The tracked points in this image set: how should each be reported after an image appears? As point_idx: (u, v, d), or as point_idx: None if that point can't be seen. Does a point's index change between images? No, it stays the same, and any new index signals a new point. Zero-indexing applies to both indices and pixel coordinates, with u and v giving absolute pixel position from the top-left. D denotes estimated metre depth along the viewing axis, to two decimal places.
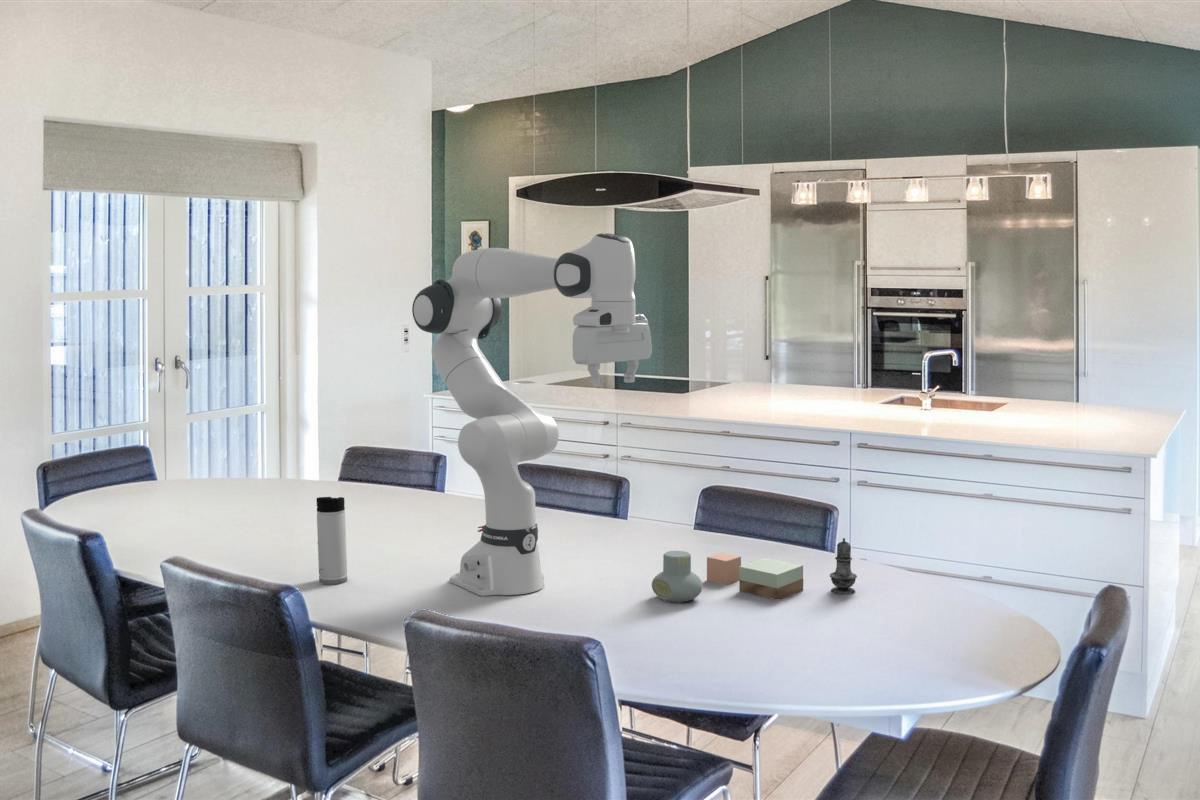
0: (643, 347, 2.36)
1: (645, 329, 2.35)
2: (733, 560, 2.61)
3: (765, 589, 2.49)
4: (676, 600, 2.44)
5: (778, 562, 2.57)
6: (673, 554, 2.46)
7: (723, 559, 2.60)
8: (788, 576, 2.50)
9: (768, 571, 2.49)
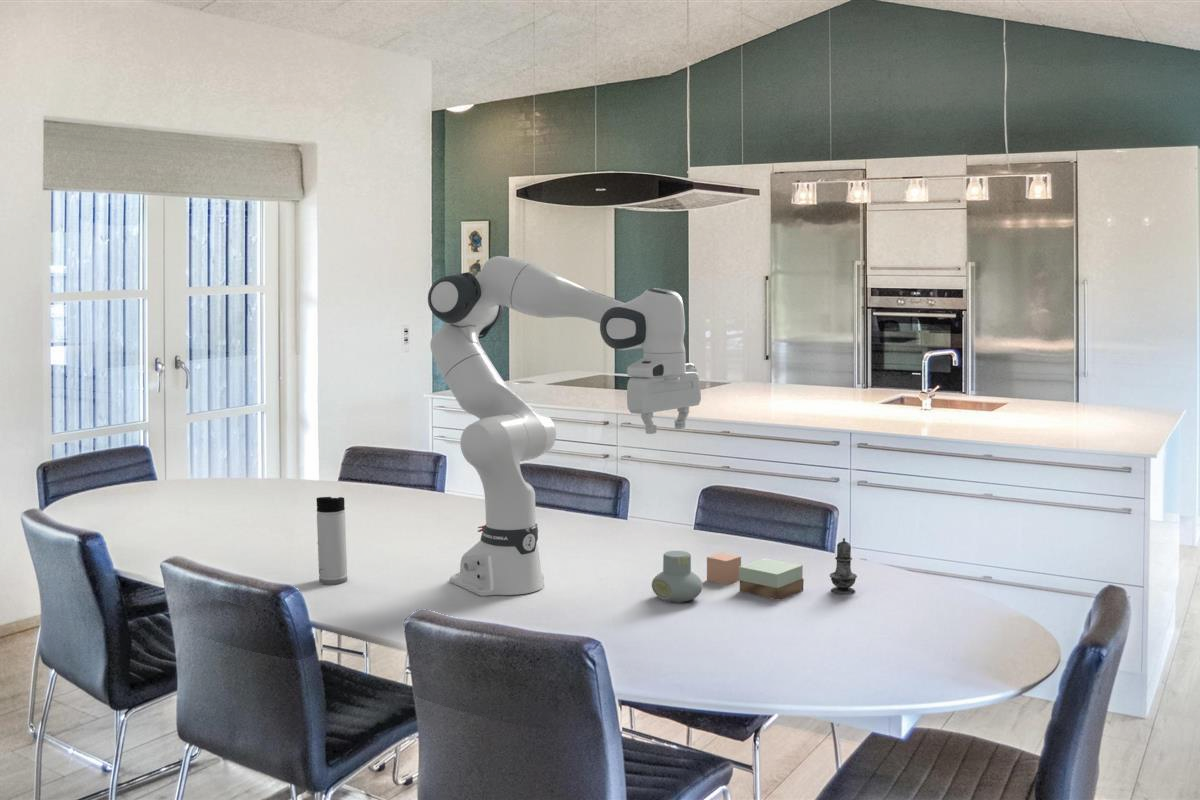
0: (693, 395, 2.48)
1: (694, 377, 2.48)
2: (733, 560, 2.61)
3: (765, 589, 2.49)
4: (676, 600, 2.44)
5: (777, 562, 2.57)
6: (673, 554, 2.46)
7: (723, 559, 2.60)
8: (788, 576, 2.50)
9: (768, 571, 2.49)
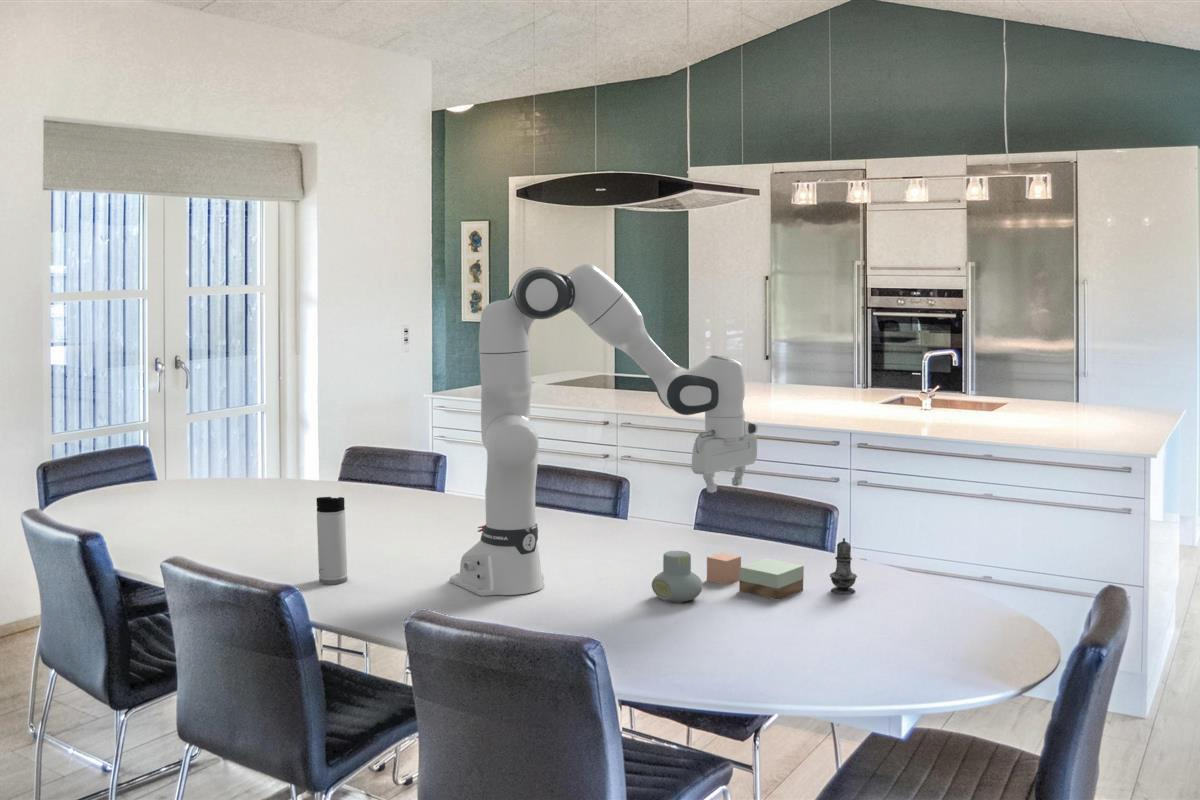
0: None
1: None
2: (733, 560, 2.61)
3: (765, 589, 2.49)
4: (676, 600, 2.44)
5: (778, 562, 2.56)
6: (673, 554, 2.46)
7: (723, 559, 2.60)
8: (788, 576, 2.50)
9: (768, 571, 2.49)
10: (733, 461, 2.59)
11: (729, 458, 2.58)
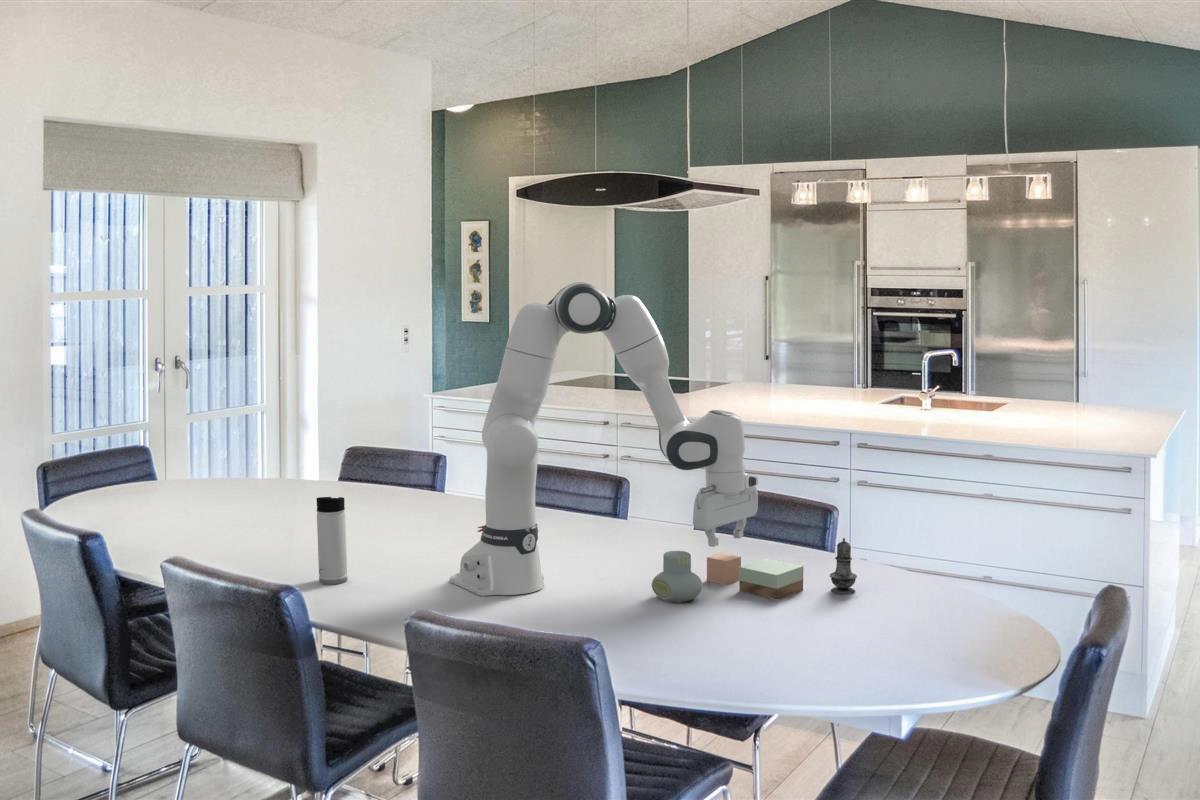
0: None
1: None
2: (733, 560, 2.61)
3: (765, 589, 2.49)
4: (676, 600, 2.44)
5: (778, 563, 2.56)
6: (673, 554, 2.46)
7: (723, 559, 2.60)
8: (788, 577, 2.50)
9: (768, 571, 2.49)
10: (734, 515, 2.61)
11: (730, 512, 2.60)
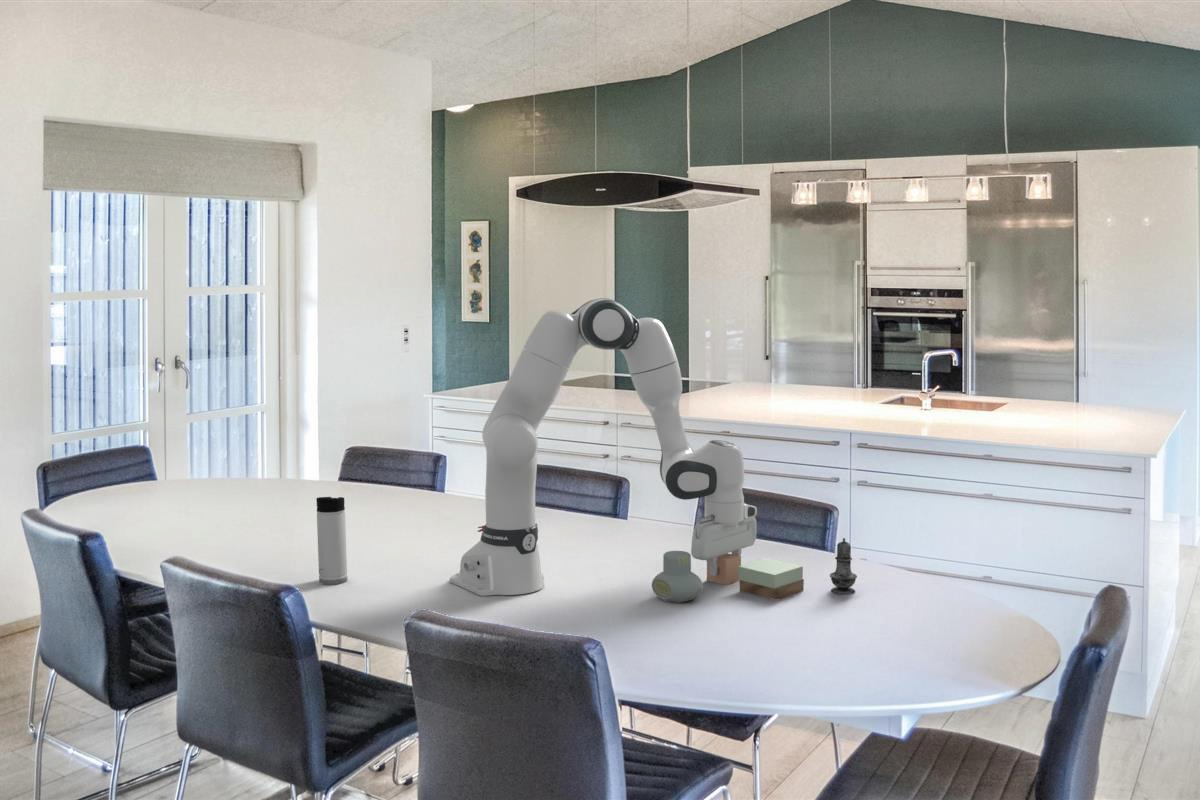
0: None
1: None
2: (733, 560, 2.61)
3: (765, 589, 2.49)
4: (676, 600, 2.44)
5: (778, 563, 2.56)
6: (673, 554, 2.46)
7: (723, 559, 2.60)
8: (786, 577, 2.50)
9: (766, 571, 2.49)
10: (732, 545, 2.61)
11: (728, 542, 2.60)
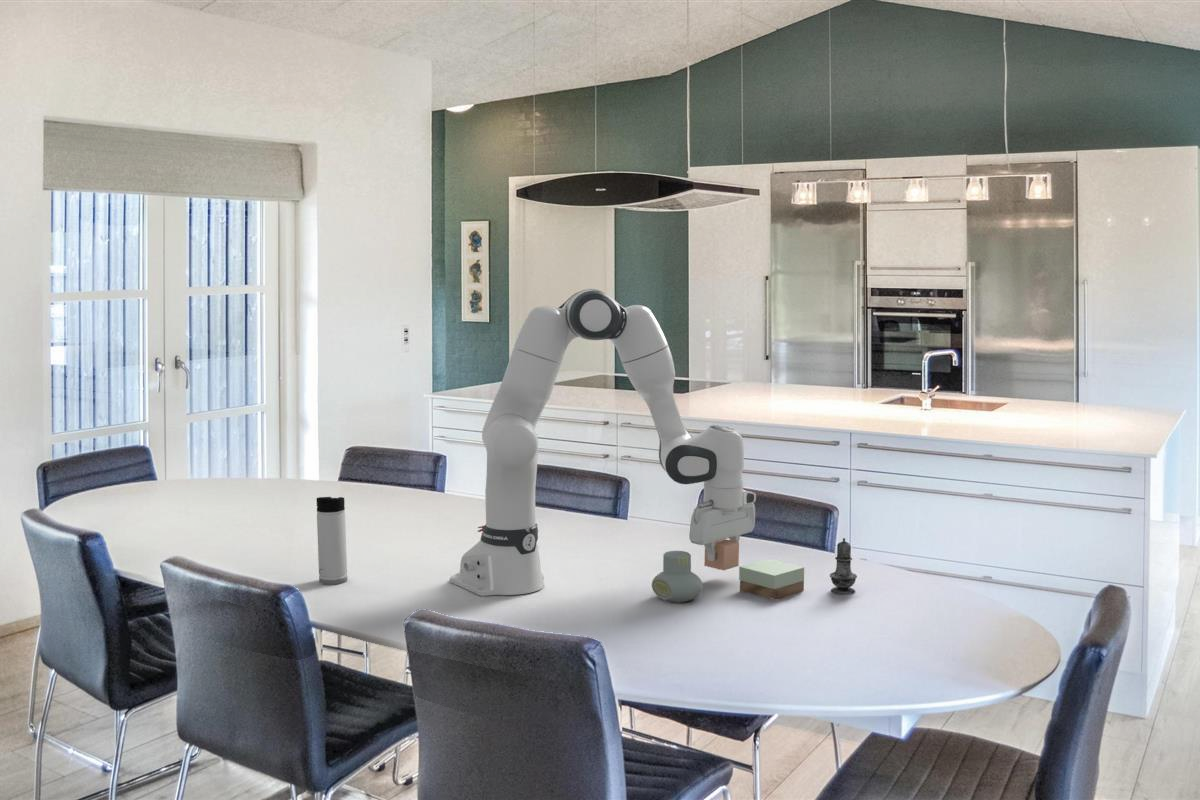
0: None
1: None
2: (731, 545, 2.60)
3: (765, 590, 2.49)
4: (676, 600, 2.44)
5: (780, 563, 2.56)
6: (673, 554, 2.46)
7: (721, 544, 2.60)
8: (787, 578, 2.50)
9: (766, 572, 2.49)
10: (730, 531, 2.61)
11: (726, 528, 2.60)
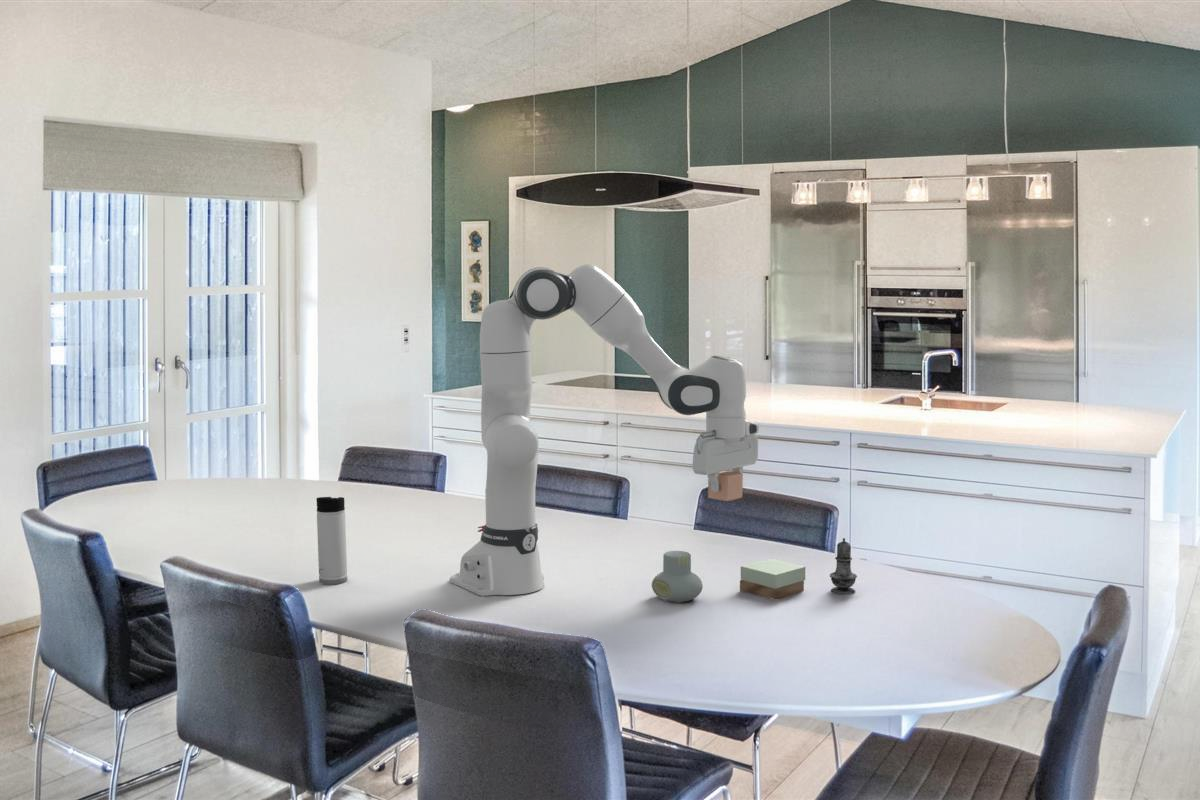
0: None
1: None
2: (735, 476, 2.58)
3: (765, 590, 2.49)
4: (676, 600, 2.44)
5: (781, 563, 2.56)
6: (673, 554, 2.46)
7: (725, 475, 2.58)
8: (788, 577, 2.50)
9: (767, 571, 2.49)
10: (733, 462, 2.59)
11: (730, 459, 2.58)
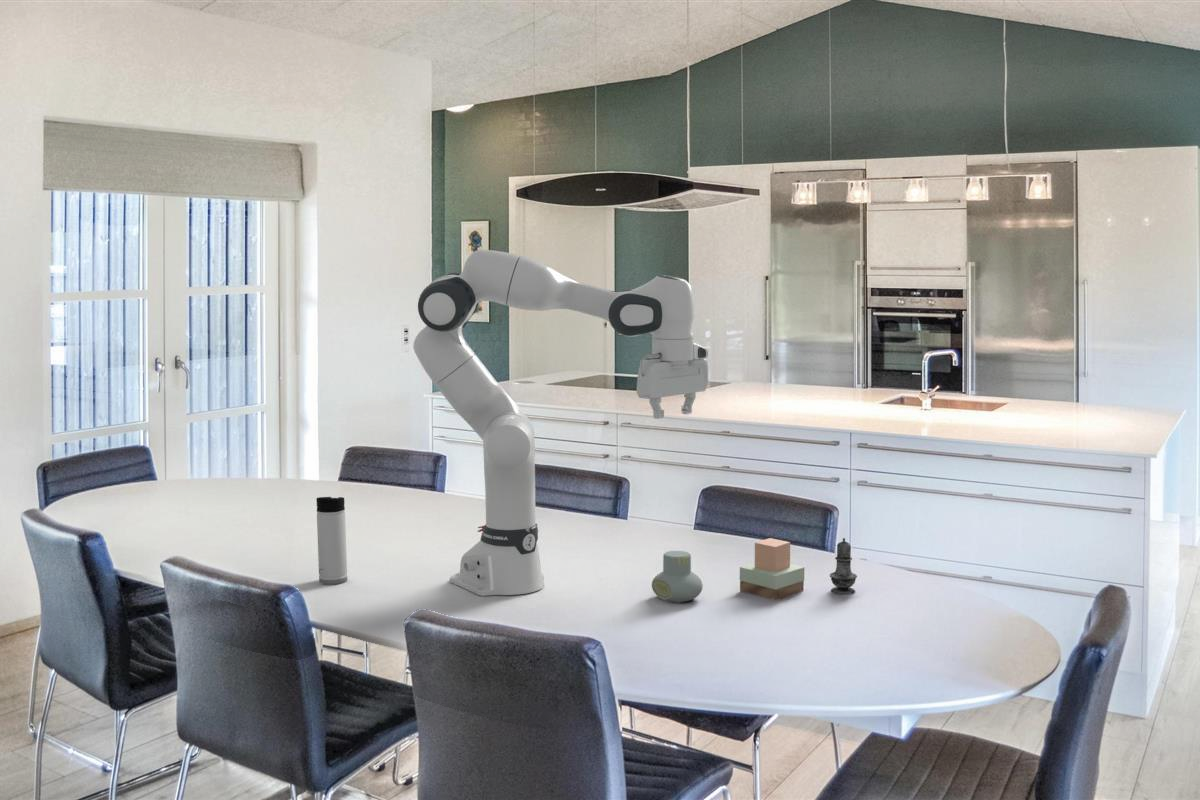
0: None
1: None
2: (782, 546, 2.51)
3: (766, 590, 2.49)
4: (676, 600, 2.44)
5: None
6: (673, 554, 2.46)
7: (772, 545, 2.51)
8: (788, 578, 2.50)
9: (767, 572, 2.49)
10: (681, 387, 2.47)
11: (677, 383, 2.46)
